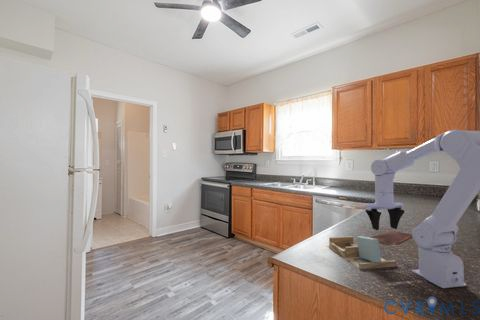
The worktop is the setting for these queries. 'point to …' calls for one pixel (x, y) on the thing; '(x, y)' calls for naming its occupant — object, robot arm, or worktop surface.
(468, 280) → the worktop surface
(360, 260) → the felt pad
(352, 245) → the offcut
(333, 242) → the rack
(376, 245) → the panel
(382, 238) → the wooden tablet
